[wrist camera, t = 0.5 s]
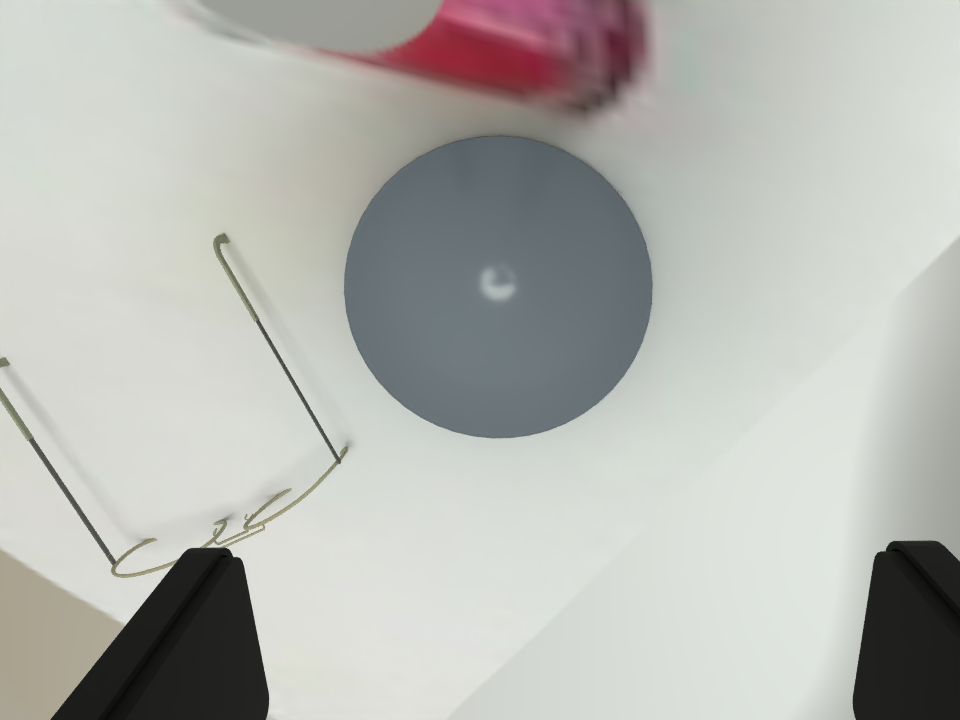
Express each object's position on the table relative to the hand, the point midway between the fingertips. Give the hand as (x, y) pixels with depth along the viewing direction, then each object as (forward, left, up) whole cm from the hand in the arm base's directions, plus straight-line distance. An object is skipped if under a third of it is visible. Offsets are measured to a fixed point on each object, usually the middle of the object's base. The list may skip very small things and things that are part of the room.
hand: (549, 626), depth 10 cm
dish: (+2, 0, -27) cm, 27 cm away
